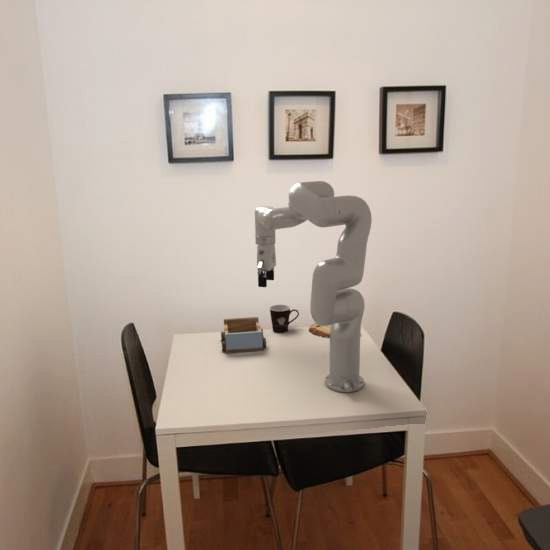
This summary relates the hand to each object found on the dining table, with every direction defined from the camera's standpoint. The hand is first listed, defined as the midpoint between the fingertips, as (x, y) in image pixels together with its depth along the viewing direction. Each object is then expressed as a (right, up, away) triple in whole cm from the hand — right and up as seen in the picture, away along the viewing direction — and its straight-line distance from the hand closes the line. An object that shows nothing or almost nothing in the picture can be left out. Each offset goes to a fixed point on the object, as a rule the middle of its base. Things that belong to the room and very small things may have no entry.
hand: (266, 283), depth 182 cm
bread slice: (+28, -21, +14) cm, 38 cm away
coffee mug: (+7, -20, +17) cm, 28 cm away
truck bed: (-9, -24, +4) cm, 26 cm away
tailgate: (-8, -24, -5) cm, 26 cm away
